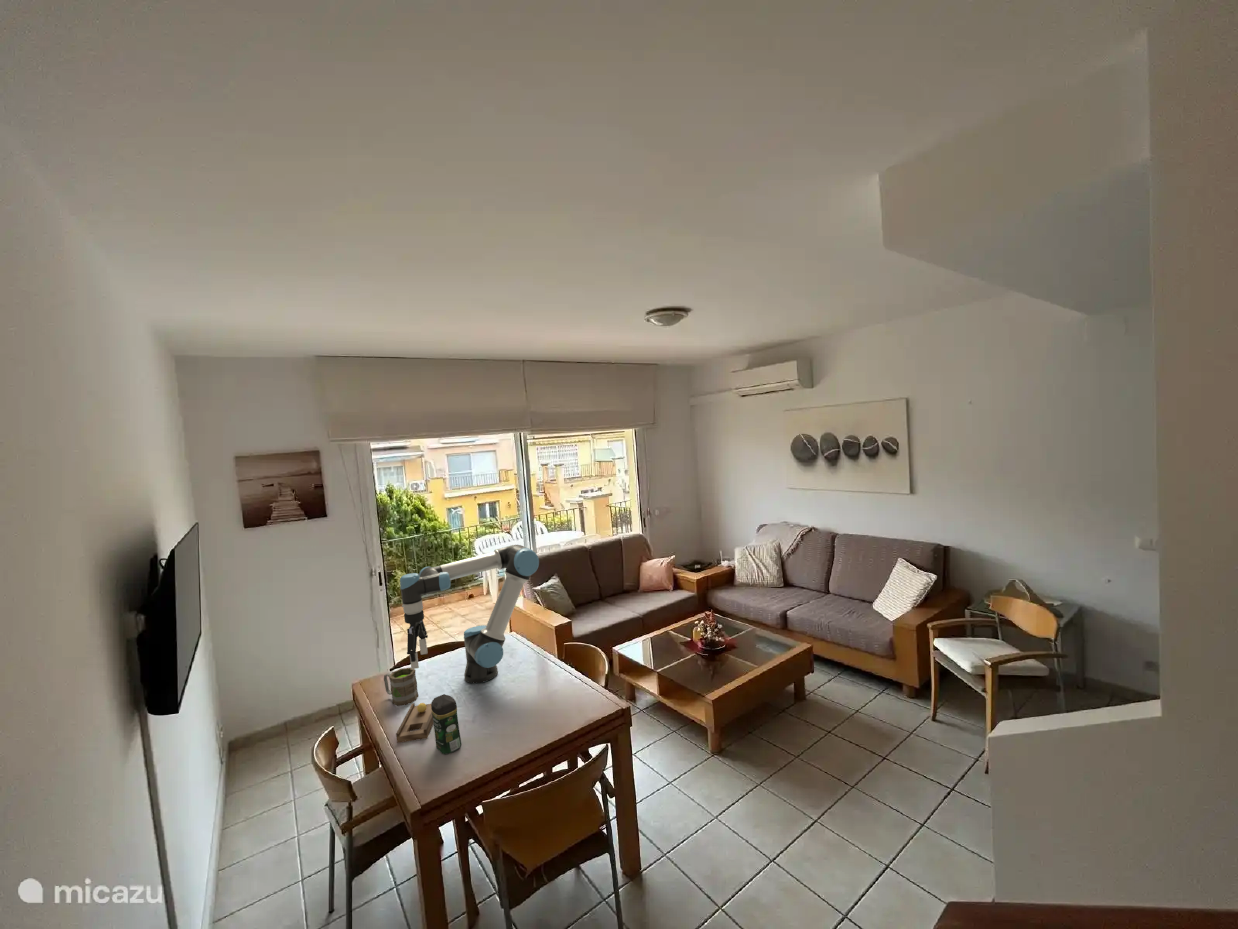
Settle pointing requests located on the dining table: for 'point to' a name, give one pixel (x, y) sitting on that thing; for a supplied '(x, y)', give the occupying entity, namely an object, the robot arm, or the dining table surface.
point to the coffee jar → (446, 724)
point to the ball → (421, 707)
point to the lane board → (415, 724)
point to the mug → (402, 686)
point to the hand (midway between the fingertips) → (419, 661)
